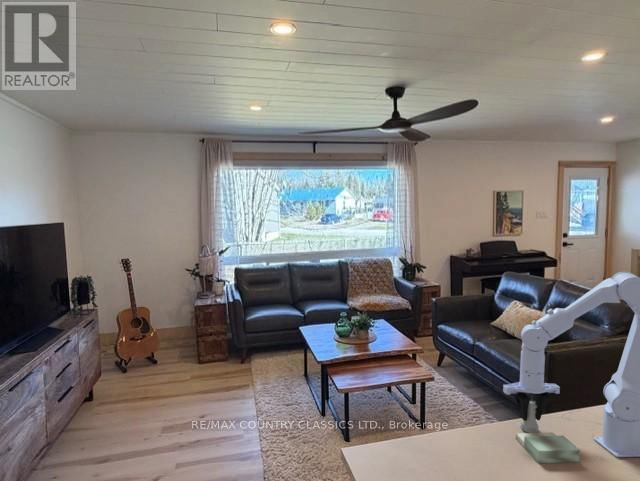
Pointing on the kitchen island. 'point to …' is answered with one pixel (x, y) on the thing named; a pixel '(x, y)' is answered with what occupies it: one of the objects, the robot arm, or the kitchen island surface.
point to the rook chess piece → (530, 419)
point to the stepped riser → (548, 447)
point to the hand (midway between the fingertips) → (530, 418)
